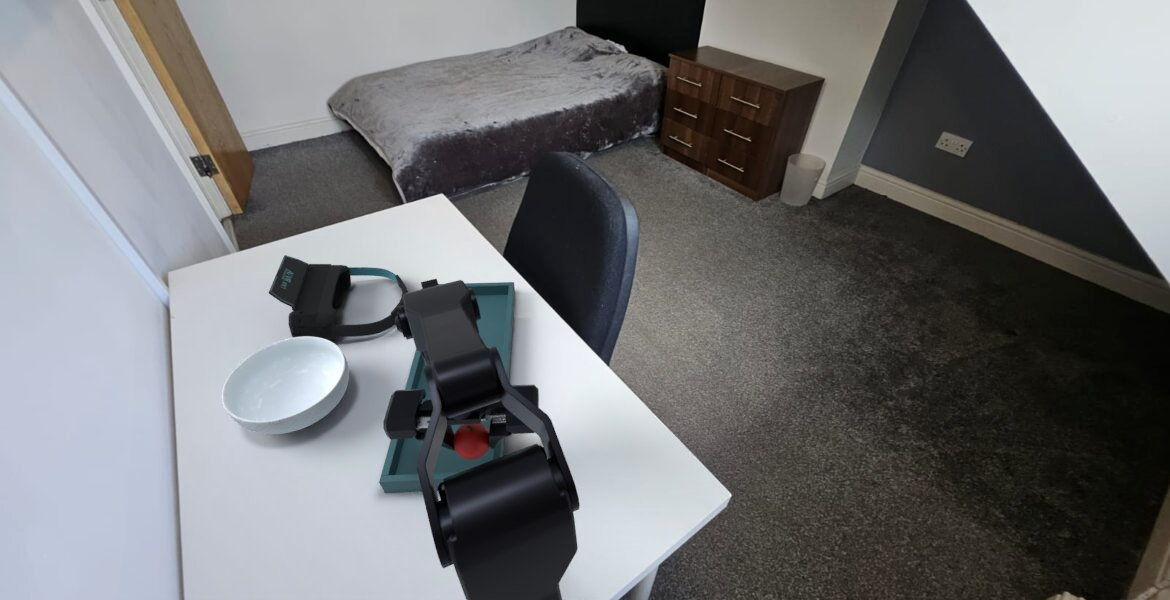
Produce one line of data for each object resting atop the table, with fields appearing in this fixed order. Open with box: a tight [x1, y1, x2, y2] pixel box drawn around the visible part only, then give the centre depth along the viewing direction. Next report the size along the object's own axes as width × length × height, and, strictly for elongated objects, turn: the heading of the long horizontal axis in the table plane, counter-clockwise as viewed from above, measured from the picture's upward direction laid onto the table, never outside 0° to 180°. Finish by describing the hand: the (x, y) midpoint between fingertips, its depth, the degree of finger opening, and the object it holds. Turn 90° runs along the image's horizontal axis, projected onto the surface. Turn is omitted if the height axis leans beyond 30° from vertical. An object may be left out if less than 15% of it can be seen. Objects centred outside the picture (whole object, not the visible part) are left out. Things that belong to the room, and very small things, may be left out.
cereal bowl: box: [221, 336, 350, 435], centre depth 74 cm, size 17×17×7 cm
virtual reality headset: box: [268, 254, 409, 340], centre depth 90 cm, size 19×22×10 cm
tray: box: [378, 281, 516, 494], centre depth 80 cm, size 42×16×3 cm, turn 4°
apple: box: [453, 423, 490, 460], centre depth 64 cm, size 5×5×6 cm
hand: (473, 446), depth 65 cm, fingers closed on apple, 5 cm apart
